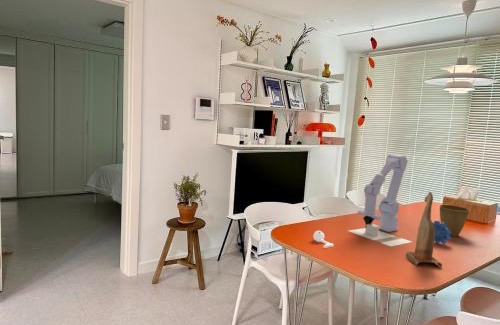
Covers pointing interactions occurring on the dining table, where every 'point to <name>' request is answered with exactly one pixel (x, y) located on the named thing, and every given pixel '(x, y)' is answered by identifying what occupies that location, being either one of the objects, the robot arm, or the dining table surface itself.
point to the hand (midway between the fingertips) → (367, 229)
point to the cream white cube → (372, 229)
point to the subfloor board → (381, 237)
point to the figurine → (321, 239)
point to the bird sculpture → (424, 237)
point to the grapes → (441, 232)
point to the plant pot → (453, 218)
